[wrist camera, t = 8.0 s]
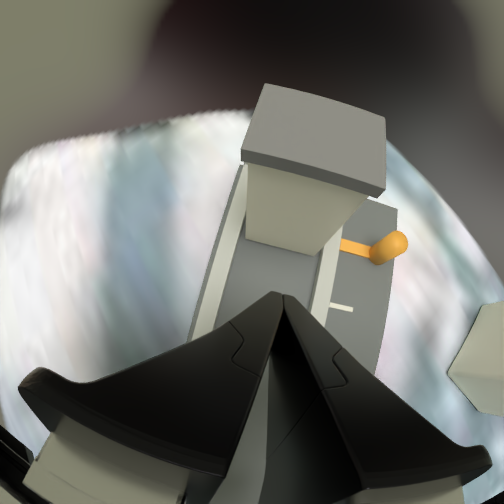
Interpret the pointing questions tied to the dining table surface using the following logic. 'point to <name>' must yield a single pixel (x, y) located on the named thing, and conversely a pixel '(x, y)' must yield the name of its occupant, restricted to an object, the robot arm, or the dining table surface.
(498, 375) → the medicine bottle
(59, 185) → the dining table surface
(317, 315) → the console
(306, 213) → the fader tab
